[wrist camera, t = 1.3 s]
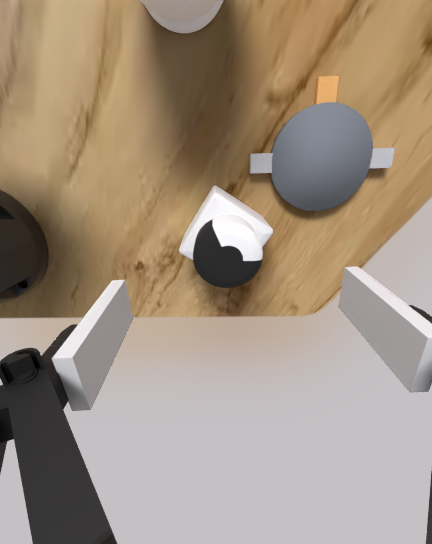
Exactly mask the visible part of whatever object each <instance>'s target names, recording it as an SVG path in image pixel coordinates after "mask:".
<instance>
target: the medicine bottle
mask: <svg viewBox="0 0 432 544" xmlns="http://www.w3.org/2000/svg"><path fill="white" fill-rule="evenodd" d="M272 234H273V229H272V228H271V227H270V226H269V224H268V223H267V222H266V221H265V219H264V218H263V217H262V216H261V215H260V214H259V213H257V212H256V211H254V210H253V209H251V208H250V207H248V206H247V205H245V204H244V203H242V202H240V201H239V200H237V199H236V198H234V197H233V196H231V195H230V194H228V193H227V192H225V191H224V190H222V189H221V188H219V187H218V186H216V185H215V186H213V187H212V188H211V190H210V192H209V193H208V195H207V197H206V198H205V200H204V202H203V203H202V205H201V207H200V208H199V210H198V212H197V213H196V215H195V217H194V218H193V220H192V222H191V223H190V225H189V227H188V228H187V230H186V232H185V234H184V237H183V240H182V243H181V246H180V248H179V252H180V253H181V254H182V255H184V256H186V257H187V258H189V259H191V260H193V262H194V266H195V268H196V270H197V272H198V274H199V275H200V276H201V277H202V278H203V279H204V280H205V281H207V282H208V283H210V284H212V285H214V286H217V287H223V288H231V287H236V286H240V285H242V284H244V283H246V282H248V281H249V280H250V279H252V278H253V277H254V276H255V274H256V273H257V272H258V270H259V268H260V266H261V263H262V257H263V251H262V247H263V246H264V245H265V243H266V242H267V240H268V239H269V238H270V236H271V235H272Z"/></svg>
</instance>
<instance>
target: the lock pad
mask: <svg viewBox="0 0 432 544" xmlns="http://www.w3.org/2000/svg"><path fill="white" fill-rule="evenodd" d="M338 80H339V76H324V77H318V78H317V82H316V92H315V103H314V105H313V106H310V107H308V108H306V109H304V110H302V111H300V112H299V113H297V114H296V115H294V116H293V117H292V118H291V119H290V120H289V121H288V122H287V123H286V124H285V125H284V126H283V127H282V129H281V130H280V132H279V133H278V135H277V137H276V139H275V141H274V144H273V147H272V150H271V153H260V154H249V173H250V174H252V173H270V175H271V179H272V182H273V185H274V187H275V189H276V190H277V192H278V193H279V195H280V196H281V197H282V198H283V199H284V200H285V201H287V202H288V203H290V204H291V205H293V206H295V207H297V208H299V209H302V210H306V211H323V210H327V209H330V208H333V207H335V206H337V205H339V204H341V203H343V202H344V201H346V200H347V199H348V198H349V197H351V196H352V195H353V194H354V193H355V192H356V191H357V189H358V188H359V187H360V185H361V184H362V182H363V181H364V179H365V177H366V175H367V173H368V171H369V168H391V165H392V160H393V155H394V151H395V148H377V149H373V142H372V136H371V132H370V129H369V127H368V125H367V123H366V121H365V120H364V118H363V117H362V116H361V115H360V114H359V113H358V112H357V111H356V110H354V109H353V108H351V107H349V106H347V105H344V104H341V103H336V96H337V88H338Z"/></svg>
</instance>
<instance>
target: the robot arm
mask: <svg viewBox="0 0 432 544" xmlns="http://www.w3.org/2000/svg"><path fill="white" fill-rule="evenodd" d="M47 264H48V249H47V244H46V240H45V238H44V235H43V233H42V231H41V229H40V227H39V225H38V223H37V222H36V220H35V219H34V218H33V216H32V215H31V214H30V213H29V212H28V211H27V209H26V208H25V207H24V206H22V205H21V204H20V203H19V202H18V201H17V200H15V199H14V198H13V197H11V196H10V195H8V194H7V193H5V192H3V191H2V190H0V303H4V302H8V301H11V300H14V299H16V298H18V297H20V296H22V295H23V294H25V293H26V292H28V291H29V290H30V289H32V288H33V287H34V286H36V285H37V284H38V283H39V282H40V280H41V279H42V277H43V276H44V274H45V271H46V269H47ZM339 308H340V309H341V311H342V312H343V313H344V314H345V315H346V317H347V318H348V319H349V320H350V321H351V323H352V324H353V325H354V326H355V327H356V329H357V330H358V331H359V332H360V333H361V335H362V336H363V337H364V338H365V339H366V340H367V342H368V343H369V344H370V345H371V347H372V348H373V349H374V350H375V351H376V353H377V354H378V355H379V356H380V357H381V359H382V360H383V361H384V362H385V363H386V365H387V366H388V367H389V368H390V369H391V370H392V372H393V373H394V374H395V375H396V377H397V378H398V379H399V380H400V381H401V382H402V384H403V385H404V386H405V387H406V388H407V390H408V391H409V392H427V391H429V389H430V386H431V383H432V317H431V316H430V315H429V314H427V313H426V312H424V311H423V310H421V309H419V308H416V307H414V306H412V305H407V304H406V303H404V302H403V301H402V300H400V299H399V298H398V297H397V296H395V295H394V294H393V293H391V292H390V291H389V290H387V289H386V288H385V287H384V286H382V285H381V284H380V283H378V282H377V281H376V280H374V279H373V278H372V277H370V276H369V275H368V274H367V273H365V272H364V271H363V270H361V269H360V268H359V267H345V269H344V275H343V282H342V288H341V294H340V301H339ZM132 320H133V315H132V310H131V305H130V301H129V296H128V291H127V287H126V282H125V280H112V281H111V283H110V284H109V285H108V287H107V288H106V289H105V290H104V292H103V293H102V294H101V296H100V297H99V298H98V299H97V301H96V302H95V303H94V305H93V306H92V307H91V309H90V310H89V311H88V312H87V314H86V315H85V316H84V318H83V319H82V320H81V321H80V323H79V324H76V325H71V326H69V327H68V328H66V329H65V330H64V331H62V332H61V333H60V335H59V336H58V337H57V338H56V340H55V341H54V342H53V343H52V344H51V346H50V347H49V348H48V349H47V350H46V351H45V353H44V354H43V355H42V356H41V355H40V352H39V351H38V350H37V349H34V348H26V349H21V350H18V351H15V352H13V353H11V354H9V355H7V356H6V357H5V358H3V359H2V360H1V361H0V378H1V380H2V383H3V385H1V386H0V472H1V467H2V463H3V458H4V453H5V449H6V444H7V441H9V440H12V439H14V441H15V447H16V452H17V457H18V463H19V469H20V474H21V479H22V485H23V490H24V496H25V501H26V507H27V513H28V519H29V524H30V530H31V535H32V540H33V544H117V542H116V540H115V537H114V534H113V532H112V530H111V527H110V525H109V522H108V520H107V518H106V515H105V512H104V510H103V507H102V505H101V502H100V500H99V498H98V495H97V492H96V490H95V488H94V485H93V483H92V480H91V478H90V475H89V473H88V470H87V468H86V465H85V463H84V460H83V458H82V455H81V453H80V450H79V448H78V445H77V443H76V441H75V438H74V436H73V433H72V431H71V428H70V426H69V423H68V421H67V419H66V416H65V414H64V411H63V409H64V407H65V405H66V404H67V402H69V404H70V407H71V409H72V411H77V410H91V408H92V406H93V404H94V401H95V399H96V397H97V395H98V393H99V391H100V389H101V387H102V384H103V382H104V380H105V378H106V376H107V374H108V371H109V369H110V367H111V365H112V363H113V361H114V358H115V357H116V354H117V352H118V350H119V348H120V346H121V344H122V342H123V339H124V337H125V335H126V333H127V331H128V329H129V327H130V324H131V322H132ZM426 544H432V473H431V486H430V498H429V512H428V524H427V538H426Z"/></svg>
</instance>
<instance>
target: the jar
mask: <svg viewBox="0 0 432 544" xmlns="http://www.w3.org/2000/svg"><path fill="white" fill-rule="evenodd" d="M140 1H141V2H142V3H143V4H144V5H145V7H146V9H147V10H148V12H149V13H150V14H151V16H152V17H153V18H154V19H155V20H156V21H157V22H158V23H159V24H160V25H162V26H163V27H165V28H166V29H168V30H170V31H173V32H176V33H192V32H195V31H198V30H200V29H202V28H203V27H205V26H206V25H207V24H208V23H209V22H210V21H211V20H212V19H213V18H214V17H215V16H216V14H217V13H218V11H219V9H220V7H221V5H222V3H223V1H224V0H140Z"/></svg>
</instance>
